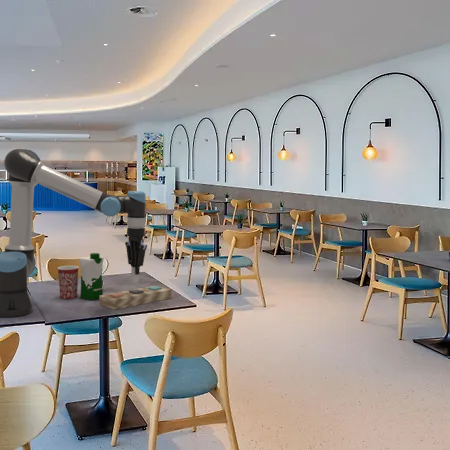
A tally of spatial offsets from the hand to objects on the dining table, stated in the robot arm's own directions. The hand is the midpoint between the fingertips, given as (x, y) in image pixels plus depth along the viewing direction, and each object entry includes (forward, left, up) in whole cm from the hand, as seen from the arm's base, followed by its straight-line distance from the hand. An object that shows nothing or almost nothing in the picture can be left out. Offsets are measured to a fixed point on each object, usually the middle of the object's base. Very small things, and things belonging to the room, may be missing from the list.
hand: (135, 281), depth 239 cm
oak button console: (0, 0, -9) cm, 9 cm away
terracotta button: (-9, +3, -7) cm, 12 cm away
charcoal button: (0, 0, -7) cm, 7 cm away
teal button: (+10, -4, -7) cm, 13 cm away
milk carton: (-4, +21, -9) cm, 23 cm away
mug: (-6, +31, -9) cm, 32 cm away
